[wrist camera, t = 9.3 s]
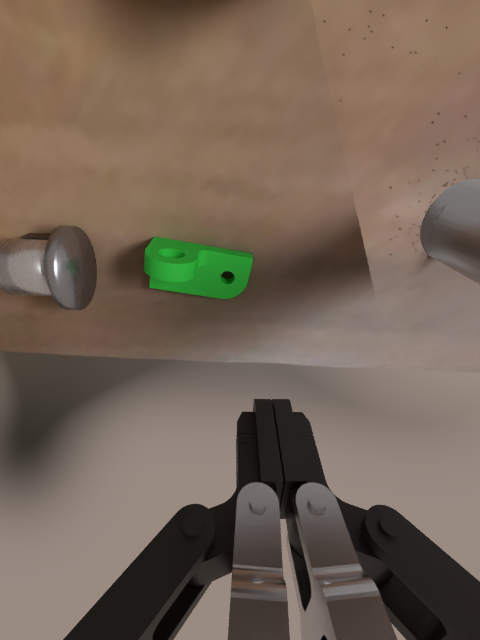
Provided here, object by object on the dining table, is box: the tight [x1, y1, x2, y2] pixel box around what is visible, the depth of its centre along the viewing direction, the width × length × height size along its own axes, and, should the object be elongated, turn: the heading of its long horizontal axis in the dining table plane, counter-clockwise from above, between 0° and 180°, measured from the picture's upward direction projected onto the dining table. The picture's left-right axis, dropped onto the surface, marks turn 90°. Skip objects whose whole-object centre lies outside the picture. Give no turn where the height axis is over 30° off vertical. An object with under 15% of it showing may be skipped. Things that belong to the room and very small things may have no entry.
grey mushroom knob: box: [0, 226, 97, 310], centre depth 33 cm, size 7×9×9 cm
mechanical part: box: [144, 237, 253, 299], centre depth 35 cm, size 12×6×8 cm, turn 79°
